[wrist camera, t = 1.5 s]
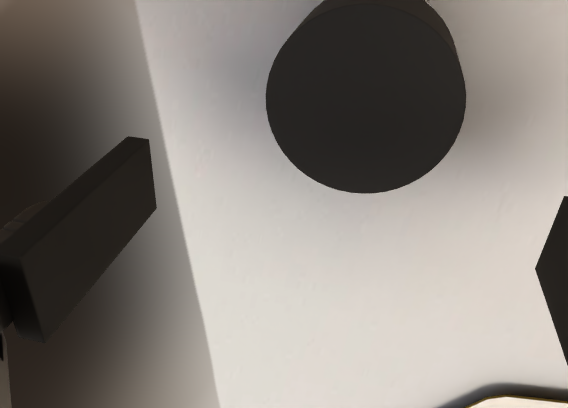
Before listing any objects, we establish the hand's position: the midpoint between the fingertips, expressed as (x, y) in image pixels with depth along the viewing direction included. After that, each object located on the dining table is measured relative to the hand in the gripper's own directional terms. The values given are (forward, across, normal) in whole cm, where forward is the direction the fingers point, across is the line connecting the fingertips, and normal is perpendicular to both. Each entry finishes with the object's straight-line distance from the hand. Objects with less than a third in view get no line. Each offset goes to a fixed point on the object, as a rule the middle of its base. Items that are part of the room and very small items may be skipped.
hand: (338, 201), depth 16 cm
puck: (+13, 0, 0) cm, 13 cm away
